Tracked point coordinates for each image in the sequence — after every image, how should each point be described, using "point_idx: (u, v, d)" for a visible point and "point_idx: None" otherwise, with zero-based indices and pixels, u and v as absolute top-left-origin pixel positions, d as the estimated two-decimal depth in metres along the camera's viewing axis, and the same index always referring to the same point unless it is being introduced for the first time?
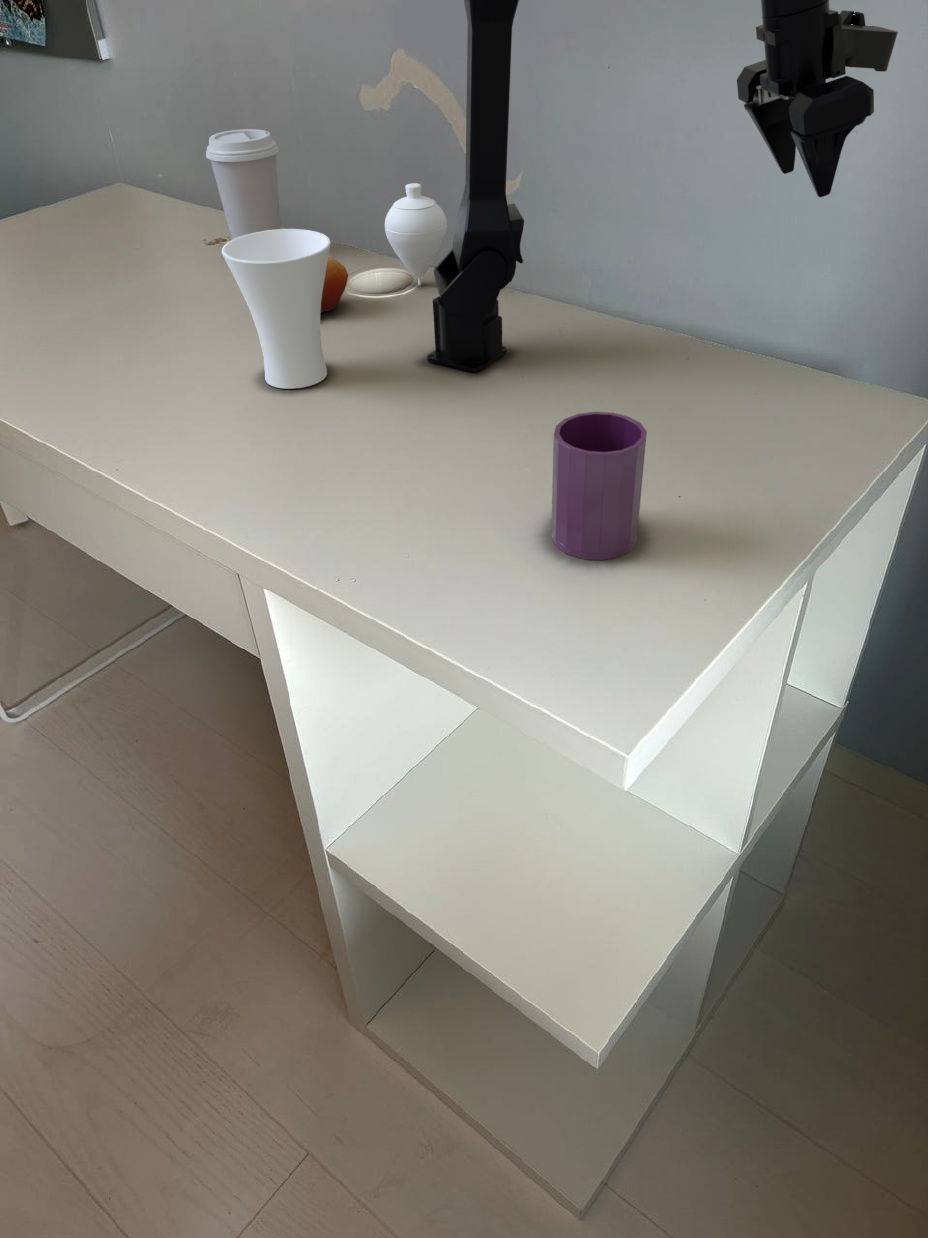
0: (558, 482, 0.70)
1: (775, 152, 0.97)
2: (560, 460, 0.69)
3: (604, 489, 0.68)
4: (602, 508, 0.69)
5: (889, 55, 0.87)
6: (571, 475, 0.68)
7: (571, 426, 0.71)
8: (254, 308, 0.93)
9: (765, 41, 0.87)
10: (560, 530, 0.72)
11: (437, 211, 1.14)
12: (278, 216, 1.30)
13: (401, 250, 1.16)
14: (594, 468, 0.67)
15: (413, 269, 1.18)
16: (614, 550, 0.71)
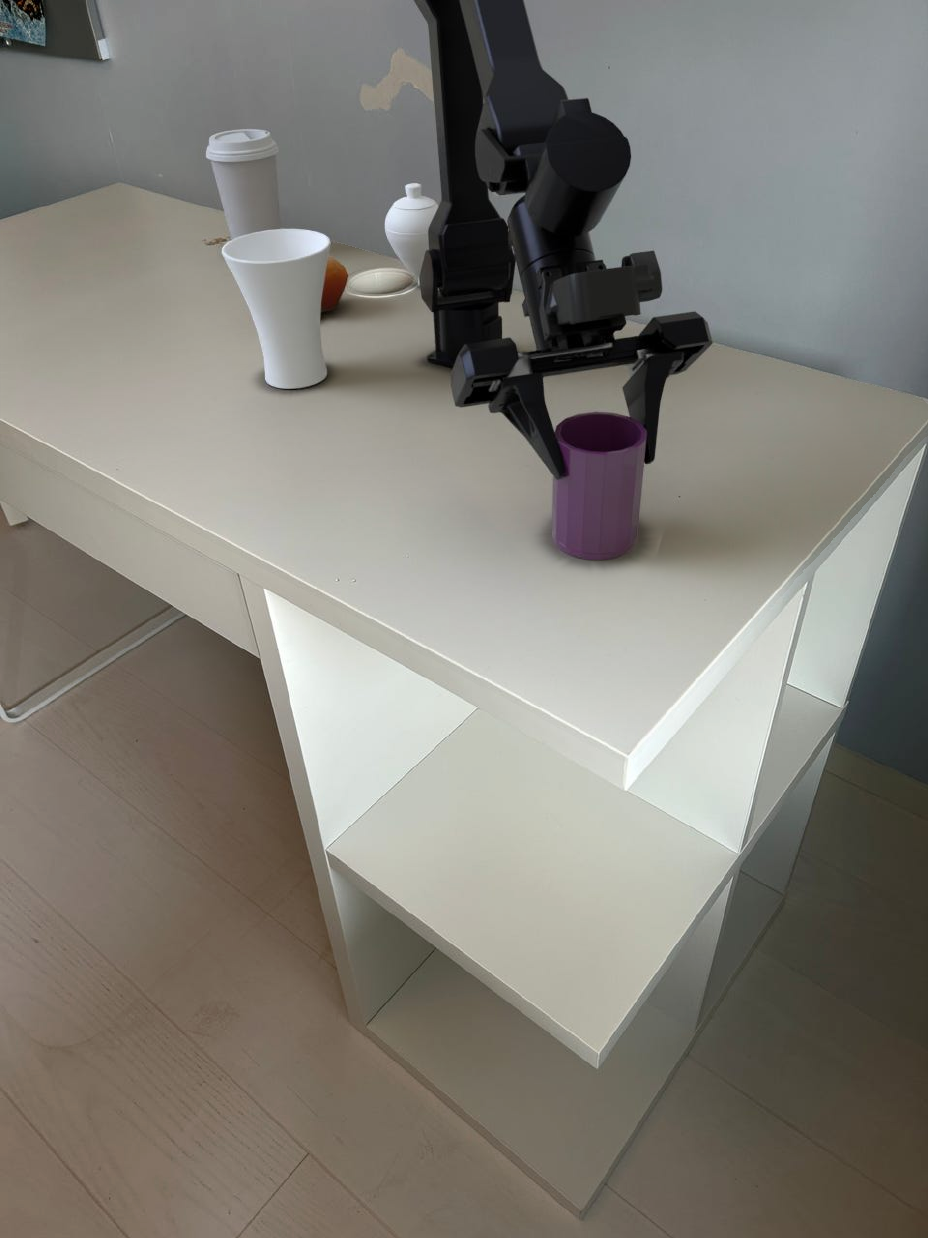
0: (558, 482, 0.70)
1: None
2: None
3: (605, 489, 0.68)
4: (602, 508, 0.69)
5: (575, 303, 0.62)
6: (571, 475, 0.68)
7: (571, 426, 0.71)
8: (254, 308, 0.93)
9: None
10: (560, 530, 0.72)
11: None
12: (278, 216, 1.30)
13: (401, 250, 1.16)
14: (594, 468, 0.67)
15: (413, 269, 1.18)
16: (614, 550, 0.71)
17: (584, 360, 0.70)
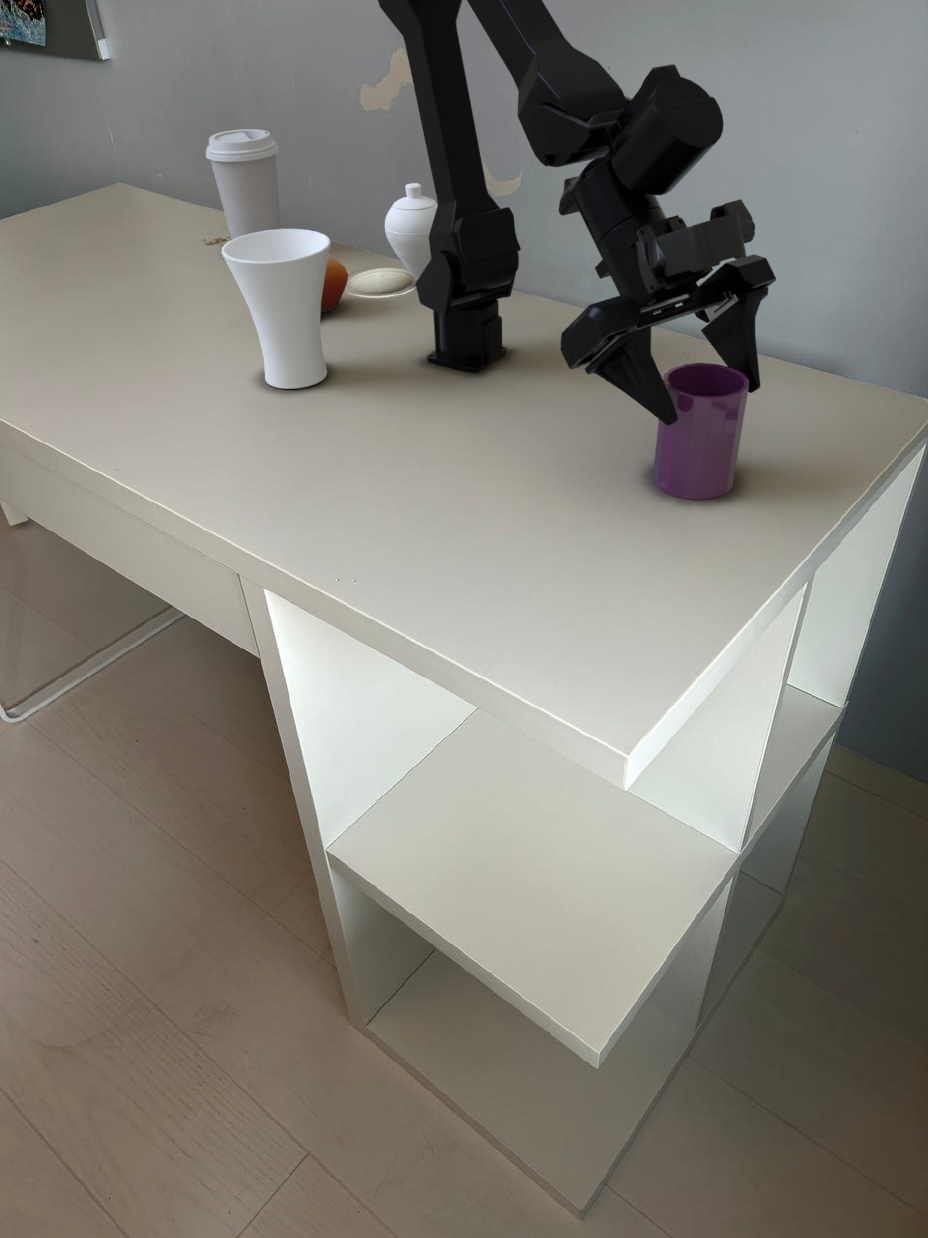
0: (675, 432, 0.75)
1: None
2: (680, 410, 0.74)
3: (724, 430, 0.74)
4: (720, 448, 0.75)
5: (699, 251, 0.68)
6: (693, 422, 0.74)
7: (669, 380, 0.77)
8: (254, 308, 0.93)
9: None
10: (675, 477, 0.78)
11: None
12: (278, 216, 1.30)
13: (401, 250, 1.16)
14: (717, 411, 0.73)
15: (413, 269, 1.18)
16: (725, 486, 0.78)
17: (685, 306, 0.76)
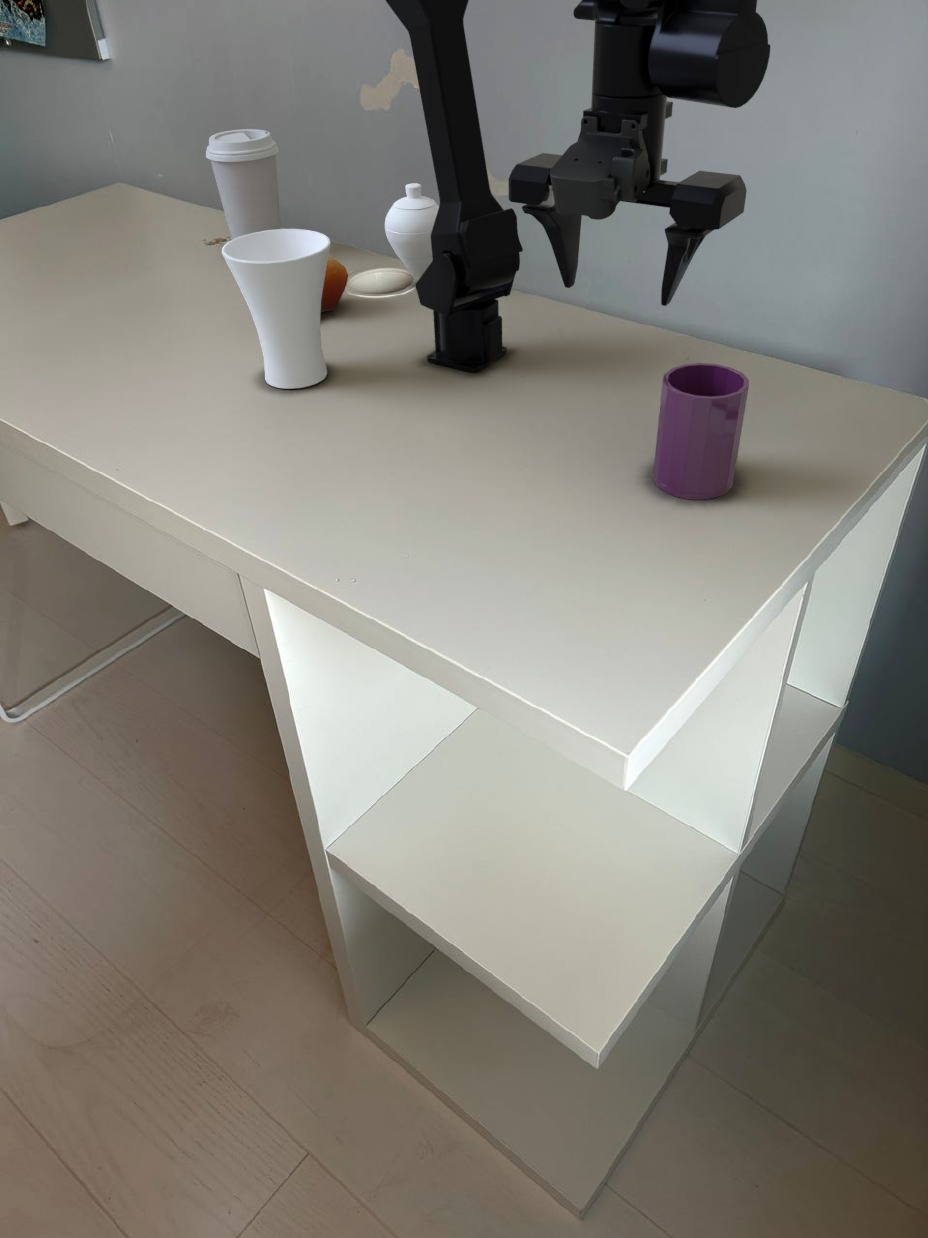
0: (675, 432, 0.75)
1: None
2: (680, 410, 0.74)
3: (724, 430, 0.74)
4: (720, 448, 0.75)
5: (553, 195, 0.72)
6: (693, 422, 0.74)
7: (669, 380, 0.77)
8: (254, 308, 0.93)
9: None
10: (675, 477, 0.78)
11: (437, 211, 1.14)
12: (278, 216, 1.30)
13: (401, 250, 1.16)
14: (717, 411, 0.73)
15: (413, 269, 1.18)
16: (725, 486, 0.78)
17: None
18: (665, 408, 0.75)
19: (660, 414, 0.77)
